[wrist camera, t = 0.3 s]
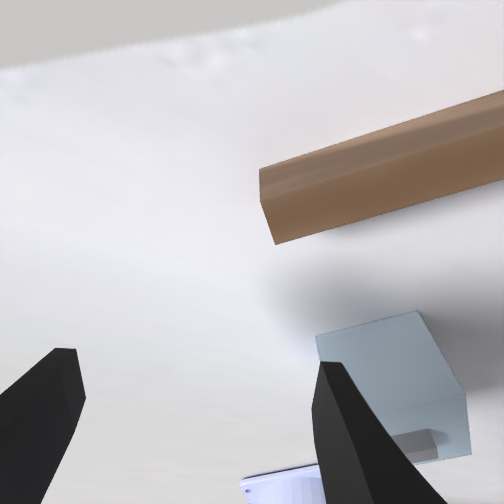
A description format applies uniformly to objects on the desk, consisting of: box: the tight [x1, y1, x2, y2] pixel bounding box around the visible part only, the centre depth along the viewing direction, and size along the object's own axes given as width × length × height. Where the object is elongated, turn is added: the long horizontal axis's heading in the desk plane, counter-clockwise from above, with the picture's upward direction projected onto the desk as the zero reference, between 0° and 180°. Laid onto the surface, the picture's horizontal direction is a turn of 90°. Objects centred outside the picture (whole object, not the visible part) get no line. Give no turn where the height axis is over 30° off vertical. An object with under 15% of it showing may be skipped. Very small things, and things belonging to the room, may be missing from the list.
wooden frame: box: [259, 90, 504, 245], centre depth 19 cm, size 14×19×4 cm
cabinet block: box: [315, 311, 472, 465], centre depth 21 cm, size 4×6×7 cm
